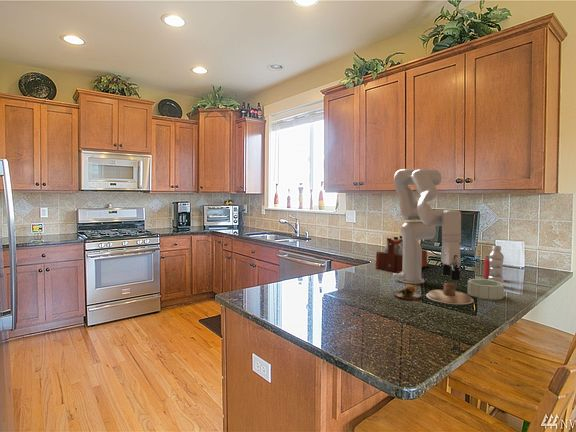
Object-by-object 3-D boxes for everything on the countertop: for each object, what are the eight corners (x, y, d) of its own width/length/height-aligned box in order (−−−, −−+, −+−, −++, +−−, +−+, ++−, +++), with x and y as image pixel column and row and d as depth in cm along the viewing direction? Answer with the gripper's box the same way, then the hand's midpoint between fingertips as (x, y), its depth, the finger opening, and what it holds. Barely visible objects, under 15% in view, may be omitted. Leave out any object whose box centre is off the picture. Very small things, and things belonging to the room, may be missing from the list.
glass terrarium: (401, 292, 161) (401, 277, 160) (426, 298, 152) (426, 281, 152) (388, 298, 152) (388, 281, 152) (413, 304, 144) (414, 286, 143)
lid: (436, 302, 143) (436, 288, 143) (423, 291, 160) (423, 278, 160) (478, 304, 142) (479, 289, 141) (461, 292, 159) (461, 279, 158)
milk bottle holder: (429, 265, 224) (429, 236, 222) (406, 274, 198) (406, 241, 197) (398, 261, 238) (398, 233, 237) (373, 269, 212) (373, 238, 211)
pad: (434, 304, 142) (434, 303, 142) (420, 291, 161) (420, 291, 161) (482, 305, 141) (482, 304, 141) (462, 292, 159) (462, 292, 159)
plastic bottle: (498, 287, 169) (499, 247, 168) (484, 284, 175) (486, 245, 174) (505, 286, 172) (507, 246, 171) (492, 283, 178) (493, 244, 177)
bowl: (476, 299, 149) (476, 286, 149) (462, 290, 163) (462, 278, 163) (509, 300, 148) (510, 286, 147) (493, 291, 162) (493, 279, 161)
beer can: (496, 278, 189) (497, 256, 189) (498, 280, 183) (499, 258, 183) (483, 276, 192) (483, 255, 191) (484, 279, 186) (484, 257, 185)
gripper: (435, 236, 158) (435, 273, 158) (450, 240, 141) (449, 281, 141) (452, 236, 157) (451, 273, 158) (469, 240, 140) (468, 282, 141)
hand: (451, 277), depth 149 cm, fingers open, 9 cm apart
